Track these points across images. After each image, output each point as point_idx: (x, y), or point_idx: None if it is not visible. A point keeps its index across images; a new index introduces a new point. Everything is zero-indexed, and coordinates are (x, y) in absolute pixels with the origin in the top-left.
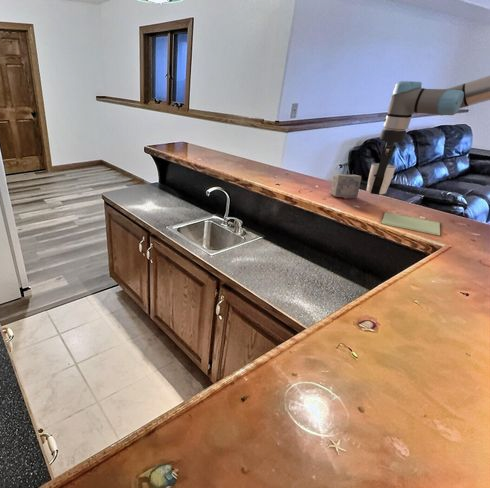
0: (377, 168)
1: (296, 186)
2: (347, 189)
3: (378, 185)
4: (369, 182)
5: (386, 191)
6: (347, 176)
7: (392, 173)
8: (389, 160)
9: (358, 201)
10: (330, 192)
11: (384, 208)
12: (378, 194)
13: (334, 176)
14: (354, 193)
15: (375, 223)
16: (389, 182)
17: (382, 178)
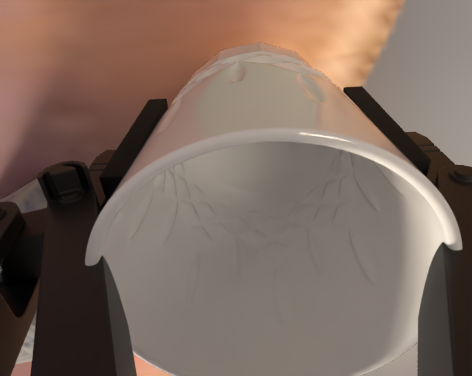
0: (417, 318)
1: None
2: None
3: (422, 142)
4: (307, 217)
5: (262, 45)
6: (33, 319)
7: (340, 106)
8: (64, 330)
9: (57, 156)
10: None
11: (48, 9)
12: (363, 89)
13: None
14: (45, 203)
15: (376, 4)
16: (297, 67)
17: (421, 165)
